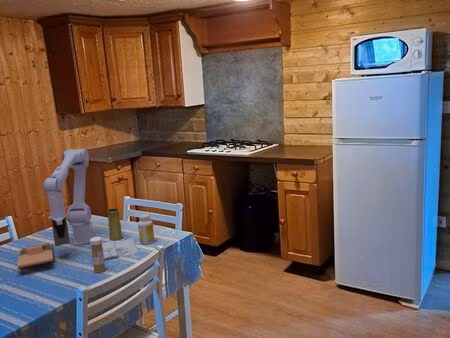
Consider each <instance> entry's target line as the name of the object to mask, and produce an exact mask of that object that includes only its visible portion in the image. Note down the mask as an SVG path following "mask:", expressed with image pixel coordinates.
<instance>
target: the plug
mask: <svg viewBox="0 0 450 338" xmlns="http://www.w3.org/2000/svg"><path fill="white" fill-rule="evenodd" d="M51 228H52V229H51V230H52V236H53V242H54V246H55V247H58V246H63V245H68V244H71V240H70V233H69V227H68V222H67V223H66V226H65V236H64V238H59V237H58V234H57V232H56V229H55V228H54V226H53V225H52V226H51Z"/></svg>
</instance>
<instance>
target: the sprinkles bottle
mask: <svg viewBox="0 0 450 338" xmlns="http://www.w3.org/2000/svg"><path fill="white" fill-rule="evenodd" d="M102 243H103V239H102V237H100V236H95V237H94V238H91V239H90V243H89V245H90V249H92V252H91V259H92V265H93V272H94V273H96V274H97V273H102V272H105V270H106V265H105V260H104V254H103V247H102Z"/></svg>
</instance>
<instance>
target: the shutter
mask: <svg viewBox="0 0 450 338" xmlns="http://www.w3.org/2000/svg"><path fill="white" fill-rule="evenodd" d="M40 245H41V246H38V245H35V246H36V247H33V246H29V247H30V248H28V247H26V248H27V249H26V250H27V255H22V256H19V255H18V257H17V266H16V267H17V268H18V269H20V268H19V267H24V266H29V265H34V264H39V263H44V262H48V261H53V255H52V250H47V251H43V248H42V245H43V244H40ZM53 262H54V261H53ZM48 263H49V262H48ZM44 264H45V263H44ZM39 265H40V264H39ZM34 266H35V265H34ZM29 267H30V266H29ZM24 268H25V267H24Z"/></svg>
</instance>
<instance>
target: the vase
mask: <svg viewBox="0 0 450 338" xmlns="http://www.w3.org/2000/svg"><path fill="white" fill-rule="evenodd" d="M106 211H107V220H108V221H107V223H108V229H109V230H108V231H109V240H110V241H114V242H117V241H121V239H123V238H124V237H123V232H122V225H121V219H120V211H119V208H116V207H115V208H109V209H107V210H106Z"/></svg>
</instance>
